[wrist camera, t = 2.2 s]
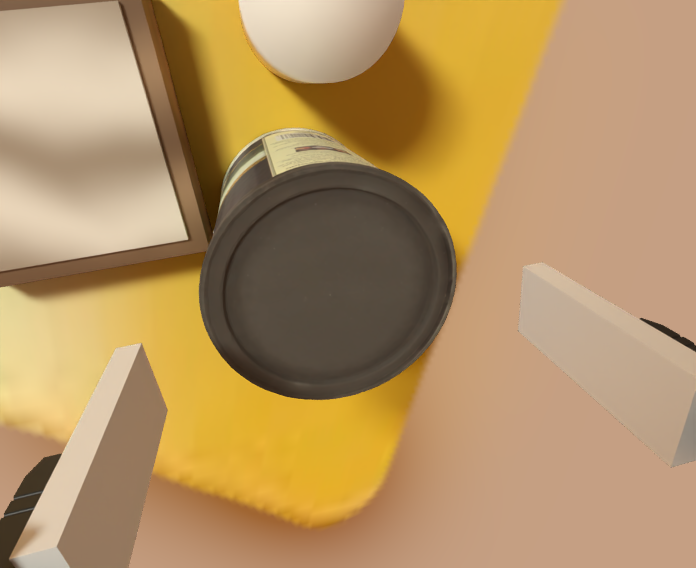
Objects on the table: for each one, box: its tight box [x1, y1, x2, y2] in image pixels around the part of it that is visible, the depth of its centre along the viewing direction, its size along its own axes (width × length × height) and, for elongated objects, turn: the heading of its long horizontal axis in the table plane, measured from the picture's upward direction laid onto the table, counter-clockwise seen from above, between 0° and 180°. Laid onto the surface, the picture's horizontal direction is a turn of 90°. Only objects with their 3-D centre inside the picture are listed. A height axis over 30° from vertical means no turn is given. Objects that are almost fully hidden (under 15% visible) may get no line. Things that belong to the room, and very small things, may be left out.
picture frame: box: [0, 0, 213, 287], centre depth 23 cm, size 14×14×3 cm
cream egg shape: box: [239, 0, 404, 83], centre depth 21 cm, size 7×7×8 cm
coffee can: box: [199, 128, 457, 400], centre depth 23 cm, size 10×10×14 cm
